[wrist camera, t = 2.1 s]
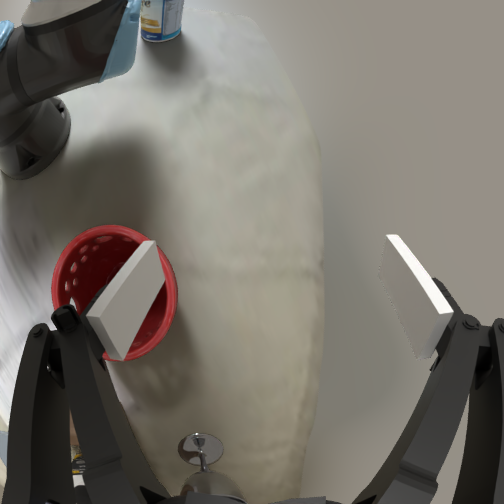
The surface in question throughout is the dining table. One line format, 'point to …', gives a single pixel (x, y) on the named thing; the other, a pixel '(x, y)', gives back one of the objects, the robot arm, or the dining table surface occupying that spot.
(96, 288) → the plant pot
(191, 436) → the wine glass
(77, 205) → the dining table surface
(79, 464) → the medicine bottle
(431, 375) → the robot arm
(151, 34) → the beverage bottle
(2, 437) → the grey pad
